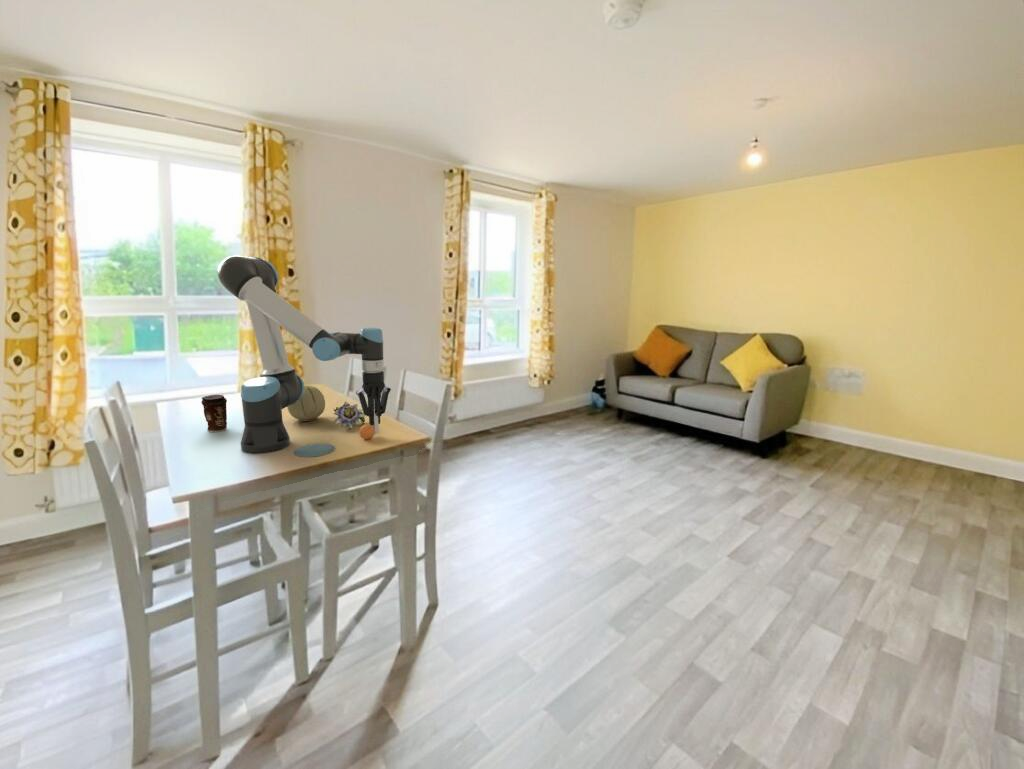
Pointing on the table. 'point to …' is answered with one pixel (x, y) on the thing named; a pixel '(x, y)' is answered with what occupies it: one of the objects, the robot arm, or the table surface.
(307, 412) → the cantaloupe
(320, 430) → the table surface
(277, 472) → the table surface
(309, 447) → the mark
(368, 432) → the ball
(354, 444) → the table surface
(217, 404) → the coffee cup
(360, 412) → the passion flower
